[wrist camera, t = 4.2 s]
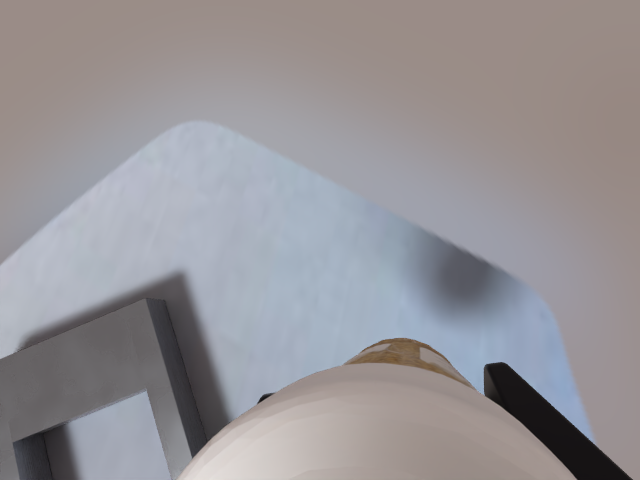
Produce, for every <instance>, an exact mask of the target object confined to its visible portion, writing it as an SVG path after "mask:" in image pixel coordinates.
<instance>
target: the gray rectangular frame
mask: <svg viewBox="0 0 640 480" xmlns="http://www.w3.org/2000/svg"><path fill="white" fill-rule="evenodd" d="M144 391H147V393H148V397H149V400H150V404H151V407H152V411H153V415H154V418H155V422H156V425H157V429H158V433H159V436H160V440H161V443H162V447H163V451H164V454H165V458H166V461H167V465H168V468H169V472H170V476H171V479H172V480H176V479H177V478H178V476H179V475H180V474H181V473H182V471H183V470H184V469H185V468H186V466H187V465H188V464H189V462H190V461H191V460H192V459H193V457H194V456H195V455H196V454H197V453H198V452H199V451H200V450H201V449H202V448H203V447H204V446H205V445H206V444H207V440H206V437H205V434H204V430H203V427H202V424H201V420H200V417H199V414H198V410H197V407H196V404H195V400H194V397H193V394H192V391H191V387H190V384H189V381H188V377H187V374H186V371H185V367H184V364H183V361H182V357H181V354H180V351H179V348H178V344H177V341H176V338H175V334H174V331H173V328H172V324H171V321H170V318H169V315H168V311H167V308H166V305H165V301H164V300H157V299H149V298H144V299H142V300H140V301H137V302H135V303H132V304H130V305H128V306H125V307H123V308H121V309H118V310H116V311H113V312H111V313H109V314H106V315H104V316H102V317H99V318H97V319H94V320H92V321H90V322H87V323H85V324H83V325H80V326H78V327H75V328H73V329H71V330H68V331H66V332H64V333H61V334H59V335H56V336H54V337H52V338H49V339H47V340H45V341H42V342H40V343H37V344H35V345H33V346H30V347H28V348H26V349H23V350H21V351H19V352H16V353H14V354H11V355H9V356H7V357H4V358H2V359H0V480H52V475H51V471H50V466H49V462H48V457H47V452H46V448H45V443H44V439H43V434H42V433H44V432H46V431H49V430H51V429H54V428H56V427H59V426H61V425H64V424H66V423H68V422H71V421H73V420H76V419H78V418H81V417H83V416H86V415H88V414H91V413H93V412H95V411H98V410H100V409H103V408H105V407H108V406H110V405H113V404H115V403H117V402H120V401H122V400H125V399H127V398H130V397H132V396H135V395H137V394H140V393H142V392H144Z"/></svg>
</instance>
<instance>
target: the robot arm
mask: <svg viewBox="0 0 640 480" xmlns="http://www.w3.org/2000/svg"><path fill="white" fill-rule="evenodd" d="M273 394H275V393H269V394H264V395H263V396H262V397H261V398H260V400H259V402H258V403H257V404H259V403H260V402H262V401H263V400H265V399H267V398H268V397H270V396H271V395H273ZM484 394H485V396H486V397H487V398H489V399H490V400H492V401H493V402H495V403H496V404H498V405H499V406H501V407H502V408H503V409H504V410H506V411H507V412H508V413H509V414H511V415H512V416H513V417H514V418H516V419H517V420H518V421H520V422H521V423H522V424H523V425H524V426H525V427H526V428H527V429H528V430H529V431H530V432H531V433H532V434H533V435H534V436H535V437H536V438H538V439H539V440H540V441H541V442H542V443H543V444H544V445H545V446H546V447H547V448H548V449H549V450H550V451H551V452H552V453H553V454H554V455H555V456H556V457H557V458H558V459H559V460H560V461H561V462H562V463H563V464H564V466H565V467H566V468H567V469H568V470H569V471H570V472H571V473H572V474H573V475H574V477H575V478H576V479H577V480H633V479H632V478H630V477H629V476H628V475H627V474H626V473H625V472H624V471H623V470H622V469H620V467H618V466H617V465H616V464H615V463H614V462H613V461H612V460H611V459H610V458H609V457H608V456H606V455H605V454H604V453H603V452H602V451H601V450H600V449H599V448H598V447H597V446H596V445H594V444H593V443H592V442H591V441H590V440H589V439H588V438H587V437H586V436H585V435H584V434H583V433H581V432H580V431H579V430H578V429H577V428H576V427H575V426H574V425H573V424H572V423H571V422H569V421H568V420H567V419H566V418H565V417H564V416H563V415H562V414H561V413H560V412H559V411H557V410H556V409H555V408H554V407H553V406H552V405H551V404H550V403H549V402H548V401H547V400H545V399H544V398H543V397H542V396H541V395H540V394H539V393H538V392H537V391H536V390H535V389H533V388H532V387H531V386H530V385H529V384H528V383H527V382H526V381H525V380H524V379H523V378H522V377H520V376H519V375H518V374H517V373H516V372H515V371H514V370H513V369H512V368H511V367H510V366H508V365H507V364H506V363H503V362H498V363H491V364H486V365H485V367H484Z"/></svg>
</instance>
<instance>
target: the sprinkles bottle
mask: <svg viewBox="0 0 640 480" xmlns="http://www.w3.org/2000/svg"><path fill="white" fill-rule="evenodd" d="M176 480H577V479H576V478H575V477H574V475H573V474H572V473H571V472H570V471H569V470H568V469H567V468H566V467H565V466H564V464H563V463H562V462H561V461H560V460H559V459H558V458H557V457H556V456H555V455H554V454H553V453H552V452H551V451H550V450H549V449H548V448H547V447H546V446H545V445H544V444H543V443H542V442H541V441H540V440H539V439H538V438H536V437H535V436H534V435H533V434H532V433H531V432H530V431H529V430H528V429H527V428H526V427H525V426H524V425H523V424H522V423H521V422H520V421H518V420H517V419H516V418H514V417H513V416H512V415H511V414H509V413H508V412H507V411H506V410H504V409H503V408H502V407H501V406H499V405H498V404H496V403H495V402H493V401H492V400H490V399H489V398H487V397H486V396H484V395H482V394H481V393H479V392H478V391H477V390H476V389H475V388H474V387H473V386H472V385H471V384H470V383H469V382H468V381H467V380H466V379H465V378H464V377H463V376H462V375H461V374H460V373H459V372H458V371H457V370H456V369H455V368H454V367H453V366H452V365H451V363H450V362H449V361H448V360H447V359H446V358H445V357H444V356H443V355H442V354H440V353H439V352H437V351H436V350H434V349H433V348H431V347H430V346H429V345H427V344H424V343H421V342H419V341H416V340H412V339H407V338H395V339H386V340H382V341H380V342H378V343H376V344H373V345H372V346H370V347H367V348H366V349H364V350H363V351H362V352H360V353H359V354H358V355H356V356H355V357H353V358H352V359H350V360H349V361H347V362H346V363H345V364H343V365H342V366H338V367H334V368H331V369H327V370H324V371H320V372H317V373H314V374H312V375H309V376H307V377H305V378H302V379H300V380H298V381H296V382H294V383H292V384H290V385H288V386H287V387H285V388H283V389H281V390H280V391H278V392H276V393H275V394H273V395H271V396H270V397H268V398H267V399H265V400H263V401H262V402H260V403H259V404H257V405H256V406H254V407H253V408H251V409H250V410H248V411H247V412H245V413H244V414H242V415H241V416H239V417H238V418H236V419H235V420H233V421H232V422H231V423H229V424H228V425H226V426H225V427H224V428H223V429H221V430H220V431H219V432H218V433H217V434H216V435H215V436H214V437H213V438H212V439H210V441H209V442H208V443H207V444H206V445H205V446H204V447H203V448H202V449H201V450H200V451H199V452H198V453H197V454H196V455H195V456H194V457H193V459H192V460H191V461H190V462H189V464H188V465H187V466H186V468H185V469H184V470H183V471H182V473H181V474H180V475H179V476H178V478H177V479H176Z"/></svg>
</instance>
